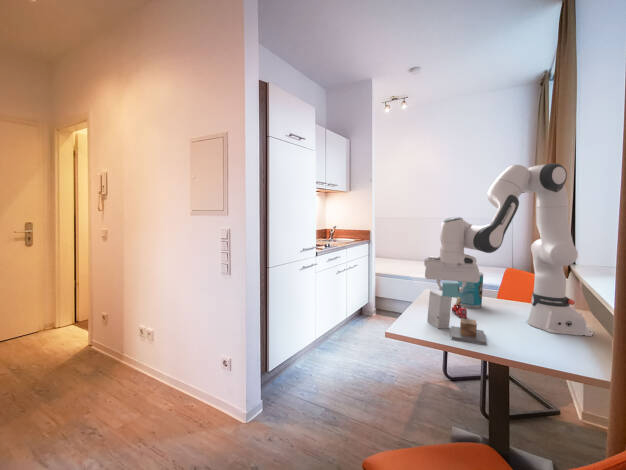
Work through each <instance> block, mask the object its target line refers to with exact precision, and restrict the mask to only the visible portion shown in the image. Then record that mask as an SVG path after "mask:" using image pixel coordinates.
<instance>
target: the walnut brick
mask: <svg viewBox="0 0 626 470" xmlns="http://www.w3.org/2000/svg"><path fill="white" fill-rule="evenodd" d="M459 324H460V325H459V327H460V333H461V335H465V336H472V337H476V331H477V330H478V329H477V327H478V324H477V320H475V319H469V318H460V322H459Z"/></svg>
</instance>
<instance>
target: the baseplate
mask: <svg viewBox="0 0 626 470" xmlns="http://www.w3.org/2000/svg"><path fill="white" fill-rule="evenodd" d="M450 333H451V340H452V341H453V340H454V341H458V342H459V341H460V342H466V343H471V344H477V343H478V345H484V346H487V339H486V336H485V333H484V330H481V329H477V331H476V337H472V336H465V335H461V333H460V326H455V325H451V332H450Z"/></svg>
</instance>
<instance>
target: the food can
mask: <svg viewBox="0 0 626 470" xmlns="http://www.w3.org/2000/svg"><path fill="white" fill-rule="evenodd" d="M479 274H480V281H479V282H478V283H474V282H466V286H465V287H464V288H463V293H461V292H459V296H458V297H459V298H461V301H462V302H461V303H460V305H461V307H462V308H465V309H472V308H473V309H476V308H477V309H481V308H482V305H483V303H482V302H483V290H484V289H483V288H484V273H483V272H481V271H479ZM457 282H459V283H460V284H459V287H462V285H463V284H462V282H460V281H457ZM480 307H481V308H480Z"/></svg>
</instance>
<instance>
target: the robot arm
mask: <svg viewBox="0 0 626 470" xmlns="http://www.w3.org/2000/svg"><path fill="white" fill-rule="evenodd" d="M567 173H568V172H567V170H566V168H565V167H564V166H563V165H562V164H560V163H552V162H551V163H546V164H539V165H533V166H530V167H529V166H528V167H526V166H524V165H522V164H512V165H510V166H508V167H506V169H505V170H504V171H503V172H501V173H500V174H499V176H498V177H497V178H495V180H494V182H493V183H492V184H491V186H490V187H489V189H488V191H487V199H488V201H489V203H490V204H491V205H492V206H494V207H495V208H496V209H497V211H496V213H495V215H494V216H493V218H492V220H491V221H490V223H488V224H486V225H473V224H471V223H469V222H467V221H466V220H464V218H463V217H460V216H459V217H458V216H457V217H448V218H445V219H444V220H443V221H442V223H441V226H440V227H441V228H440V235H439V237H440V238H439V240H440V245H441V246H440V249H439V256H428V257H426V258H424V261H423V262H424V264H423V265H424V267H425V270H424V271H425V272H424V278H425V279H426V280H435V281H436V284H437V285H438V287H439V289H438V290H439V291H442V285H441V281H449V282H458V281H460V282H462V284H463V285H462V287H459V292H461V293H463V288H464V287H465V286H466V282H474V283H478V282H479V281H480V274H479V272H480V270H479V266H478V265H477V262H478V261H477V258H476V257H475V256H473V255H470V254H465V249H470V250H473V251H479V252H482V253H486V254H492V253H494V252H496V251H498V250H499V248H501V247H502V244H503V242H504V238H505V235H506V232H507V231H508V229H509V227H510V225H511V223H512V222H513V219H514V218H515V215H516V213H517V212H518V209H519V206H520V200H519V198H520V196H521V195H522V194H526V193H527V194H529V193H535V195H536V200H535V201H536V203H535V207H536V208H535V213H536V214H535V221H536V222H535V223H536V224H535V225H536V228H537V229H538V234H539V237H540V238H538V239H536V240H534V241H533V242H532V243H531V245H530V250H531V251H530V252H531V255H532V263H533V269H534V270H533V271H534V272H533V273H534V283H533V284H534V285H533V291H532V295H531V302H530V303H531V308H530V309H531V310H530V313H529V316H528V318H527V321H526V322H527V324H528V325H530V326H532V327H533V328H537V329H540V330H544V331H546V332H548V333H551V334H561V335H569V336H570V335H571V336H582V335H585V336H584V337H593V336H594V332H593V330H592V329H591V328H590V327H588V326H587V321H586V319H585V317H584V316H583V315H582V314H581V313H580V312H579V311H577V310H576V309H575V308H574V307H572V306H574V305H575V303H576V302H575V300H573V299H571V298H569V297H567V296H566V291H567V289H566V287H567V277H566V274H565V271H564V267H567V266H570V265H572V264H574V263H576V261H577V259H578V257H579V253H578V249H577V248H576V247H575V244H574V241H573V237H572V232H571V229H570V223H569V222H570V221H569V219H570V218H569V197H568V191H567V188H566V187H567V186H566V181H567V179H568V174H567ZM592 335H593V336H592Z"/></svg>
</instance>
